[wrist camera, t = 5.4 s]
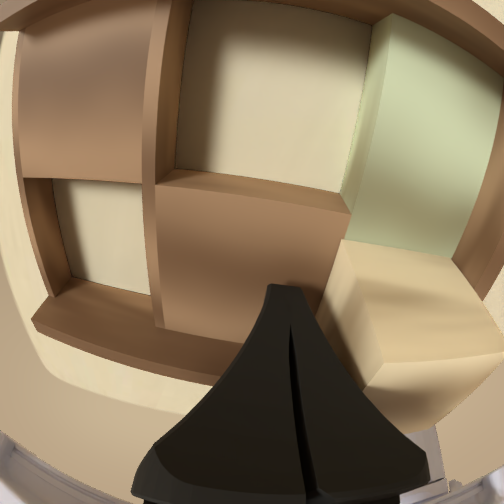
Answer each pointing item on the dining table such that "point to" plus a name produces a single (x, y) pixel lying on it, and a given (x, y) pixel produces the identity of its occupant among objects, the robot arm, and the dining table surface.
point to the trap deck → (245, 188)
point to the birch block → (408, 331)
